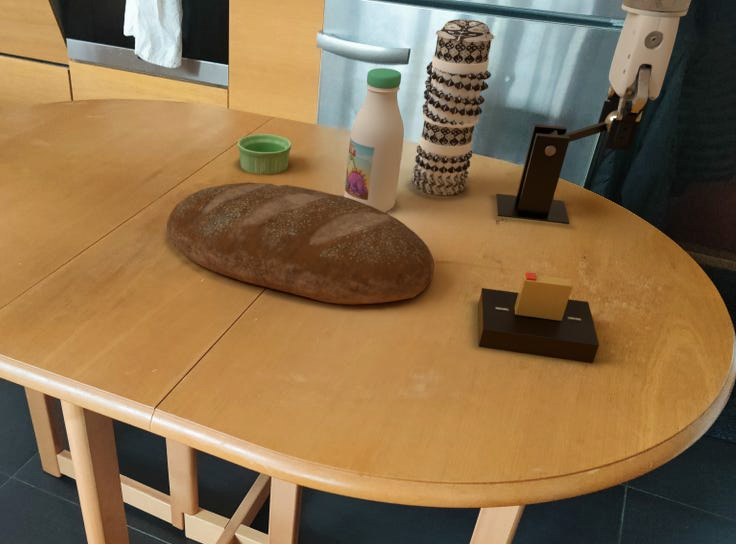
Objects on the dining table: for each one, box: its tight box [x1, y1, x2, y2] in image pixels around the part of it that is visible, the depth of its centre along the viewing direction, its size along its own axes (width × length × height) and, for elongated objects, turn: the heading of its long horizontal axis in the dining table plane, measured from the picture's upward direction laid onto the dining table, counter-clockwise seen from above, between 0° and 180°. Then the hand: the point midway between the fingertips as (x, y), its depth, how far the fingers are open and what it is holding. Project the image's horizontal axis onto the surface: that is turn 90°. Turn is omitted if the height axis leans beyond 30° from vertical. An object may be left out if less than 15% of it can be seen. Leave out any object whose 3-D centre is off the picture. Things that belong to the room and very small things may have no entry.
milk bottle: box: [343, 67, 405, 214], centre depth 103 cm, size 8×8×20 cm
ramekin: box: [237, 133, 292, 175], centre depth 120 cm, size 9×9×4 cm
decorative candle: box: [411, 18, 495, 197], centre depth 107 cm, size 9×9×25 cm
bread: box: [165, 181, 435, 305], centre depth 93 cm, size 22×37×8 cm, turn 62°
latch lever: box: [546, 110, 618, 143], centre depth 100 cm, size 12×3×3 cm, turn 77°
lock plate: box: [477, 287, 600, 364], centre depth 81 cm, size 12×9×3 cm
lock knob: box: [514, 271, 573, 321], centre depth 79 cm, size 5×2×5 cm, turn 76°
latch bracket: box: [495, 123, 570, 225], centre depth 104 cm, size 10×8×13 cm
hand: (612, 138), depth 99 cm, fingers open, 6 cm apart
